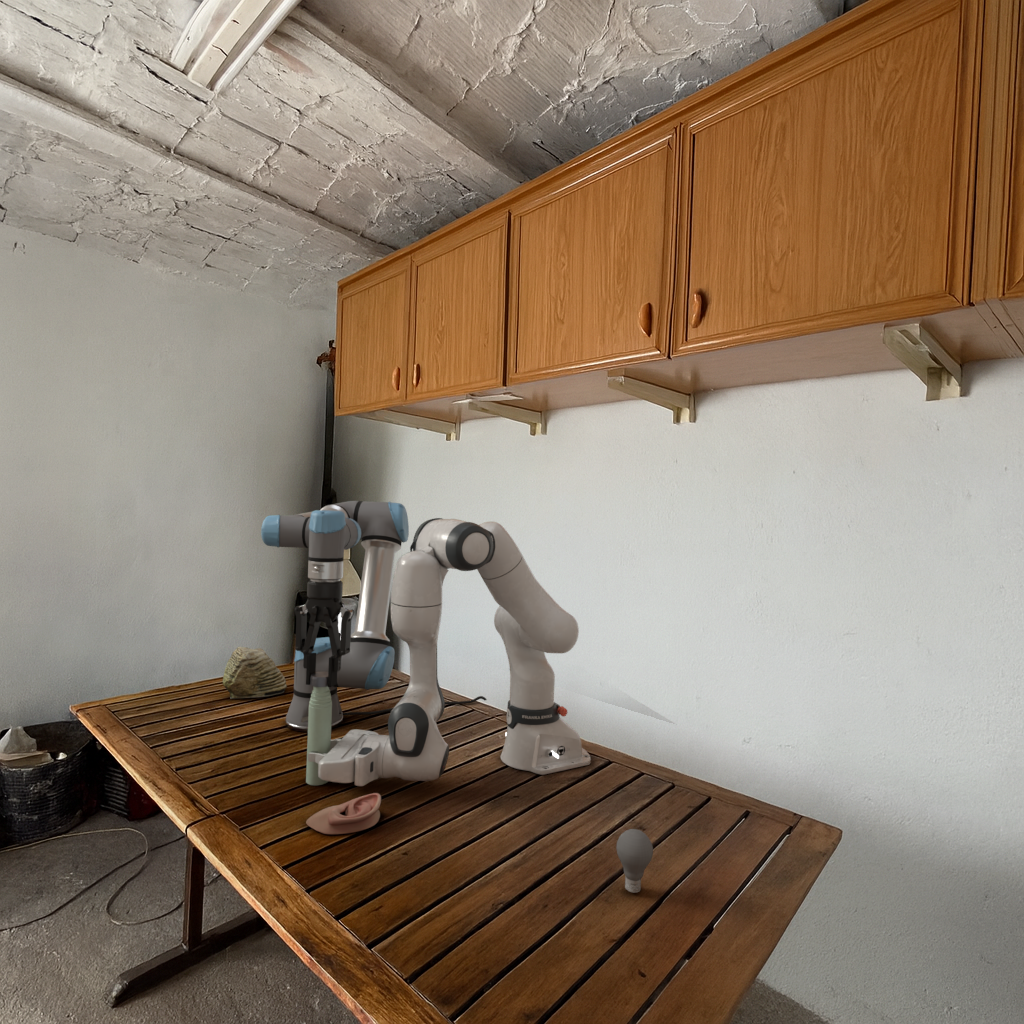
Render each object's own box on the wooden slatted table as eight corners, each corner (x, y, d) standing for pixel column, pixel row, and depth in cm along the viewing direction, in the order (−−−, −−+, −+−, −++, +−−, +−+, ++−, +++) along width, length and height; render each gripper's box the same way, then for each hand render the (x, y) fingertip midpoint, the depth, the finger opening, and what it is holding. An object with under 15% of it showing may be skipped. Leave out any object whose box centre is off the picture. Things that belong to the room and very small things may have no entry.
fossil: (218, 695, 195) (220, 647, 195) (278, 685, 208) (279, 640, 207) (228, 703, 189) (230, 653, 188) (289, 692, 201) (290, 645, 201)
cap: (305, 685, 140) (306, 675, 139) (319, 680, 144) (319, 670, 144) (323, 688, 138) (323, 678, 138) (336, 683, 142) (336, 673, 142)
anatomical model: (298, 809, 120) (327, 783, 131) (297, 830, 120) (327, 802, 131) (363, 819, 117) (388, 791, 128) (362, 840, 117) (387, 811, 128)
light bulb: (610, 879, 108) (613, 822, 108) (644, 879, 109) (647, 822, 109) (619, 902, 102) (622, 840, 102) (655, 901, 103) (658, 840, 103)
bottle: (334, 779, 142) (338, 676, 142) (318, 787, 138) (322, 681, 137) (317, 773, 145) (321, 672, 144) (301, 782, 140) (304, 677, 140)
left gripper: (279, 579, 139) (276, 684, 139) (354, 584, 135) (350, 693, 135) (298, 575, 146) (294, 675, 146) (369, 580, 142) (365, 683, 143)
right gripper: (389, 724, 150) (333, 720, 151) (360, 759, 130) (295, 754, 131) (388, 751, 150) (332, 746, 152) (359, 790, 130) (294, 784, 131)
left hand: (321, 684), depth 141 cm, fingers closed on cap, 5 cm apart
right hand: (314, 750), depth 141 cm, fingers closed on bottle, 5 cm apart
